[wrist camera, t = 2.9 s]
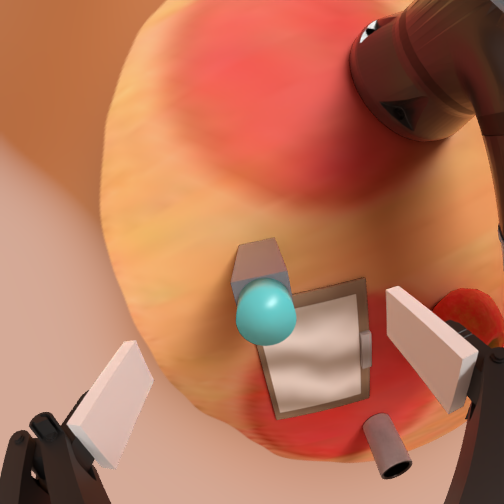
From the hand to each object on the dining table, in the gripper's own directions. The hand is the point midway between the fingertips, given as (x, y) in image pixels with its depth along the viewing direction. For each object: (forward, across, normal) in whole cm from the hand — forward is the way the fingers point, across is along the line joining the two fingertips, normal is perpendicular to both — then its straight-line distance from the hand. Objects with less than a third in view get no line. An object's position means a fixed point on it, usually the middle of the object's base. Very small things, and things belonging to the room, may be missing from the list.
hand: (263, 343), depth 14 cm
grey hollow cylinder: (+16, +12, -29) cm, 36 cm away
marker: (+16, 0, 0) cm, 16 cm away
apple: (+16, +23, -13) cm, 31 cm away
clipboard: (+16, +4, -14) cm, 21 cm away
